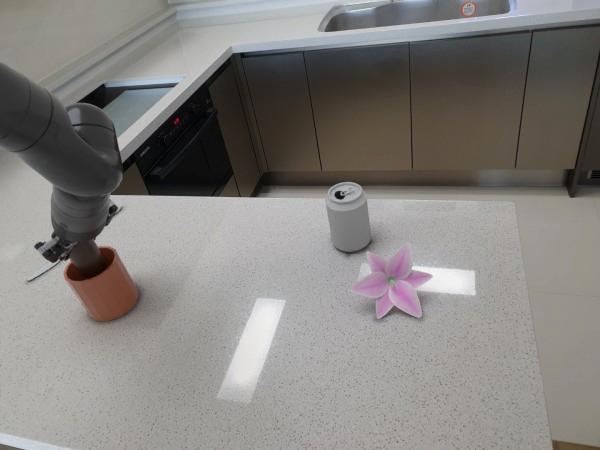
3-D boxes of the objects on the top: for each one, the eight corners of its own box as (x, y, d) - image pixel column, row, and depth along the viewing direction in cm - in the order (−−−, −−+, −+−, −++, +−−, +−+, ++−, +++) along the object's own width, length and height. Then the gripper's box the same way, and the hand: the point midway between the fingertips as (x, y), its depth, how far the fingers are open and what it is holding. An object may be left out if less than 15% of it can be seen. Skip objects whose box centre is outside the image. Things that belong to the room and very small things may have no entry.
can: (328, 234, 92) (319, 185, 84) (364, 225, 92) (358, 175, 85) (338, 258, 86) (329, 207, 78) (376, 248, 86) (371, 196, 79)
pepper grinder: (89, 281, 79) (65, 244, 74) (75, 273, 82) (51, 236, 77) (112, 264, 82) (91, 227, 77) (97, 256, 85) (76, 220, 79)
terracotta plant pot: (148, 293, 87) (127, 255, 81) (107, 328, 82) (81, 290, 76) (110, 272, 94) (88, 235, 88) (70, 303, 89) (43, 265, 83)
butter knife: (124, 206, 113) (116, 203, 114) (32, 282, 96) (23, 278, 97) (125, 208, 113) (117, 205, 114) (33, 284, 96) (24, 280, 98)
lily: (342, 309, 77) (344, 295, 68) (366, 248, 81) (371, 227, 72) (411, 337, 75) (422, 326, 66) (432, 273, 79) (446, 255, 70)
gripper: (103, 163, 70) (95, 207, 84) (15, 217, 62) (22, 256, 76) (137, 199, 70) (124, 237, 84) (54, 257, 62) (54, 289, 76)
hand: (76, 246), depth 80 cm, fingers closed on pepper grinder, 4 cm apart
